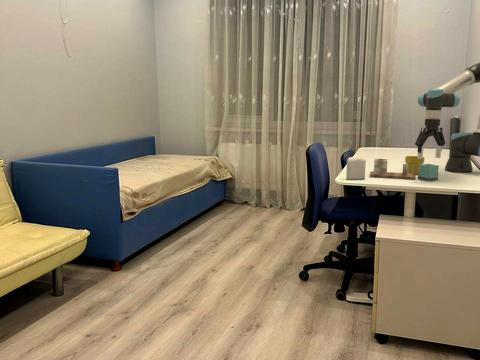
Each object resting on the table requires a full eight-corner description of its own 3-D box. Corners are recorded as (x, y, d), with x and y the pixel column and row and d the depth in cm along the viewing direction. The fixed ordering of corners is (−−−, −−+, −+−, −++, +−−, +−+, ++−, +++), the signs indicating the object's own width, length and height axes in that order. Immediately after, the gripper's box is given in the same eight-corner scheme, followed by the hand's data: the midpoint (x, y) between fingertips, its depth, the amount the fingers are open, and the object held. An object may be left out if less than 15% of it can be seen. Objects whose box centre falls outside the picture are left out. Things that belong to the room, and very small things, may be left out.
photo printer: (347, 180, 237) (348, 157, 235) (345, 178, 241) (346, 156, 239) (366, 179, 238) (367, 157, 236) (363, 178, 242) (364, 156, 240)
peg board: (414, 176, 249) (415, 159, 247) (415, 179, 237) (416, 162, 236) (370, 173, 256) (371, 157, 254) (369, 177, 245) (370, 160, 243)
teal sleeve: (427, 177, 243) (428, 163, 242) (437, 180, 237) (439, 165, 235) (417, 179, 240) (418, 164, 239) (428, 181, 234) (429, 166, 232)
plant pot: (424, 172, 260) (425, 156, 258) (421, 175, 251) (422, 158, 249) (406, 171, 265) (407, 155, 263) (402, 173, 256) (403, 157, 255)
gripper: (443, 118, 241) (439, 156, 245) (410, 118, 230) (406, 158, 234) (454, 118, 234) (450, 158, 238) (421, 118, 224) (417, 160, 227)
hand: (429, 158), depth 236 cm, fingers open, 13 cm apart
